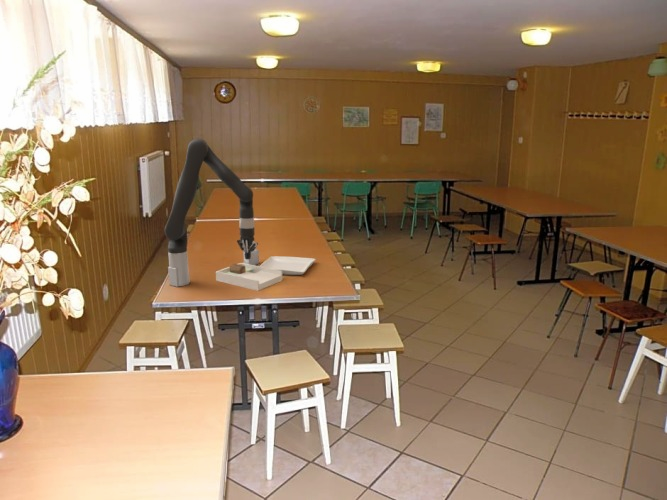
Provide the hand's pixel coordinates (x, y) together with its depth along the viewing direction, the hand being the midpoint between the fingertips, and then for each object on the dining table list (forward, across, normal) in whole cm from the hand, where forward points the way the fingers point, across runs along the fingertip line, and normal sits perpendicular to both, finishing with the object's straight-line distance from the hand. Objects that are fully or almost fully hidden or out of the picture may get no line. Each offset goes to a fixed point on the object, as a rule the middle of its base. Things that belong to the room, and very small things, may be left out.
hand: (247, 259), depth 269 cm
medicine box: (+12, -18, +22) cm, 31 cm away
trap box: (+12, +1, 0) cm, 12 cm away
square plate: (+12, +4, +27) cm, 30 cm away
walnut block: (+9, -8, +1) cm, 12 cm away
